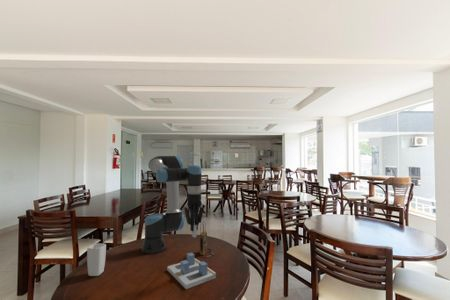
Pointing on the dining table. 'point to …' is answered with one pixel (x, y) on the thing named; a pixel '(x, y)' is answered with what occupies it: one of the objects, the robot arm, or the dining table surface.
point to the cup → (96, 259)
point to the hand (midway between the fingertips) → (194, 236)
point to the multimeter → (203, 242)
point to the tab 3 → (203, 268)
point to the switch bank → (190, 275)
